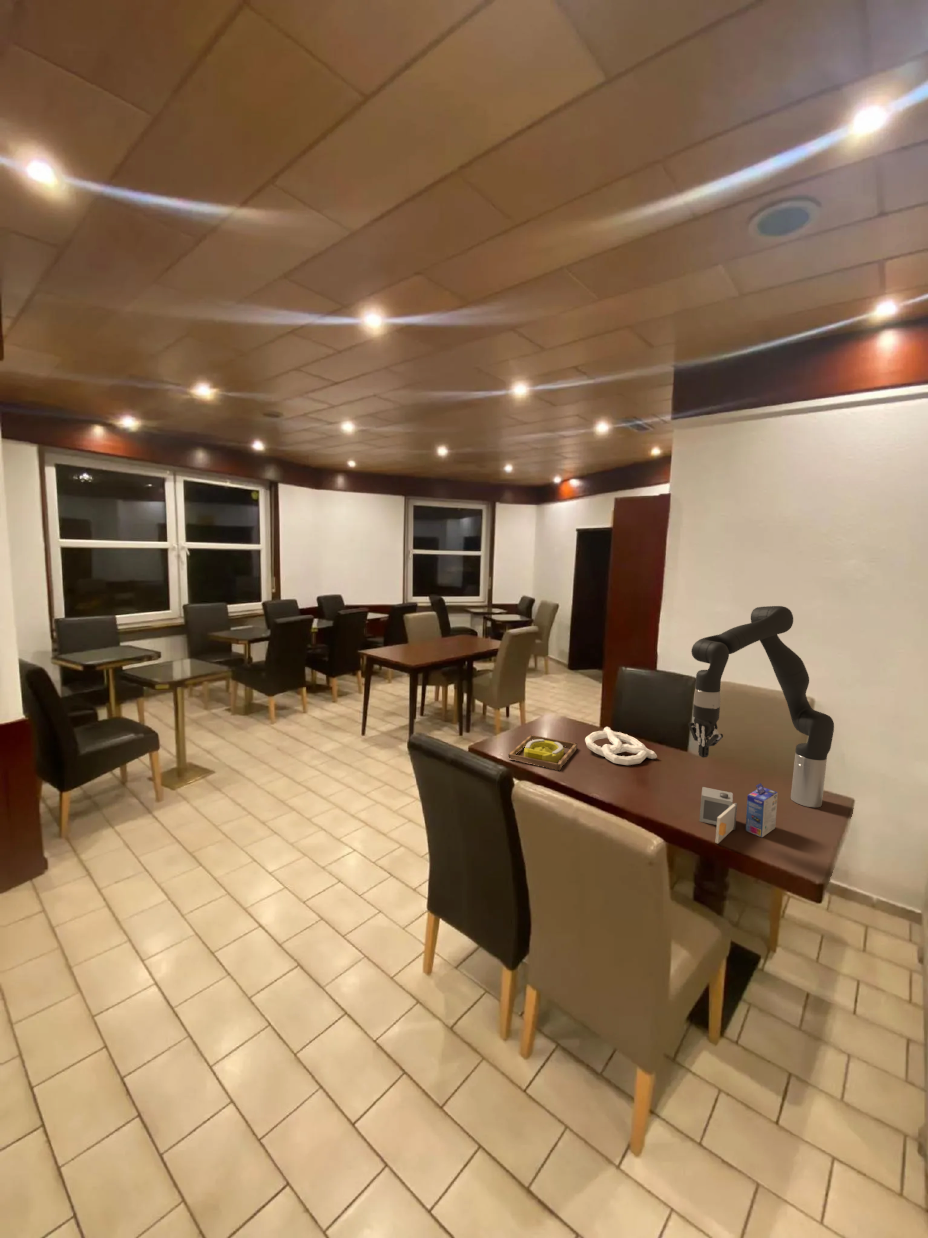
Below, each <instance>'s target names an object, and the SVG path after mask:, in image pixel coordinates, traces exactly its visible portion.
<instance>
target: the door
mask: <svg viewBox="0 0 928 1238" xmlns="http://www.w3.org/2000/svg"><path fill="white" fill-rule="evenodd" d="M737 811H738V803H737V802H734V803H732V805H731V806H730V807H729V808H728V809H727V810H725V811H724V812H723V813H722V814H721V815H719V816H718V817H717V825H715V826H716V828H715V843H716V844H719V843H720V842H722V841H723V840H724V839H725V838H726V837H727V835H729V834H730V833H731V832H732V831H733V830H736V824H737Z"/></svg>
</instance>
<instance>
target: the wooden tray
mask: <svg viewBox="0 0 928 1238" xmlns="http://www.w3.org/2000/svg"><path fill="white" fill-rule="evenodd" d="M532 739H533V740H536V739H543V740H547V741H553V742H558V743H560V744H561V745H562V746H566V747H568V748H567V749H569V750H568V751H567V752H566V753H564V757H563V758H562V759H561V760H560V761H558V762H556V763H553V762H548V761H543V760H539V759H534V758H529V757H524V755H519V754H517V755H515V754H516V752H518V751H519V750H520V749H521V748H523V746H525V745H526V744H527V743H528V742H529V741H530V740H532ZM566 747H565V748H566ZM577 749H578V743H576V742H572V741H566V740H562V739H561V740H560V739H556V738H551V737H545V736H541V735H540V736H538V735H533V734H530V735H529V736H527V737H526V738H525V739H524V740H523V741H522V742H521V743H520V744H518V745H517V746H516V747H515V748H514V749H513V750H512V751H510V752H509V753H508V757H509V758H511V759H516V760H522V761H524V762H528V763H532V764H535V765H539V766H544V767H546V768H545V769H548V768H550V770H553V769H555V770H554V771H558V770H559V771H560V770H561V769H562V768H563V767H564V766H565V765H566V763H567V762H568V761H569V760H570V758H571V757H572V756H573V754H574V753H575V752H576V751H577ZM567 760H568V761H567ZM563 765H564V766H563ZM539 766H538V767H539ZM562 766H563V767H562ZM544 767H543V768H544Z"/></svg>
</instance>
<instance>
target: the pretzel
mask: <svg viewBox="0 0 928 1238" xmlns="http://www.w3.org/2000/svg"><path fill="white" fill-rule="evenodd" d="M600 739H608V741H609V742H610V743H611V744H609V743H608V744H607V743H605V744H603V745H602V746H601V745H600V746H599V745H597V744H596V743H594V742H595V741H597V740H600ZM584 742H585V744H586V748H587V749H589V750H590V751H591V752H593V753H595V754H597V755H599V756H601V757H605V759H606V760H608V761H610V762H611V763H613V764H618V765H623V766H631V765H632V766H633V765H638V764H641V763H642V762H643V761H644V760H645V759H646V758H648V759H651V760H654V759H655V760H656V759H657V758H658V755H657V754H656V752H655V751H654V750H652V749H649V748H647V747H646V745H645V744H644V743H642V742H641V741H639V740H638V739H637V738H635V737H633V736H631V735H628V734H627V733H622V731H619V732H618V731H614V730H612V729H611V727H609V726H605V727H604V728H603V729H602V730H598V731H593V732H591V733H590V734H588V735H587V736H586V737H585V738H584ZM624 752H627V753H631V754H632V755H628V756H625V755H622V756H621V755H617V754H620V753H624ZM634 754H636V755H634Z"/></svg>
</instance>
